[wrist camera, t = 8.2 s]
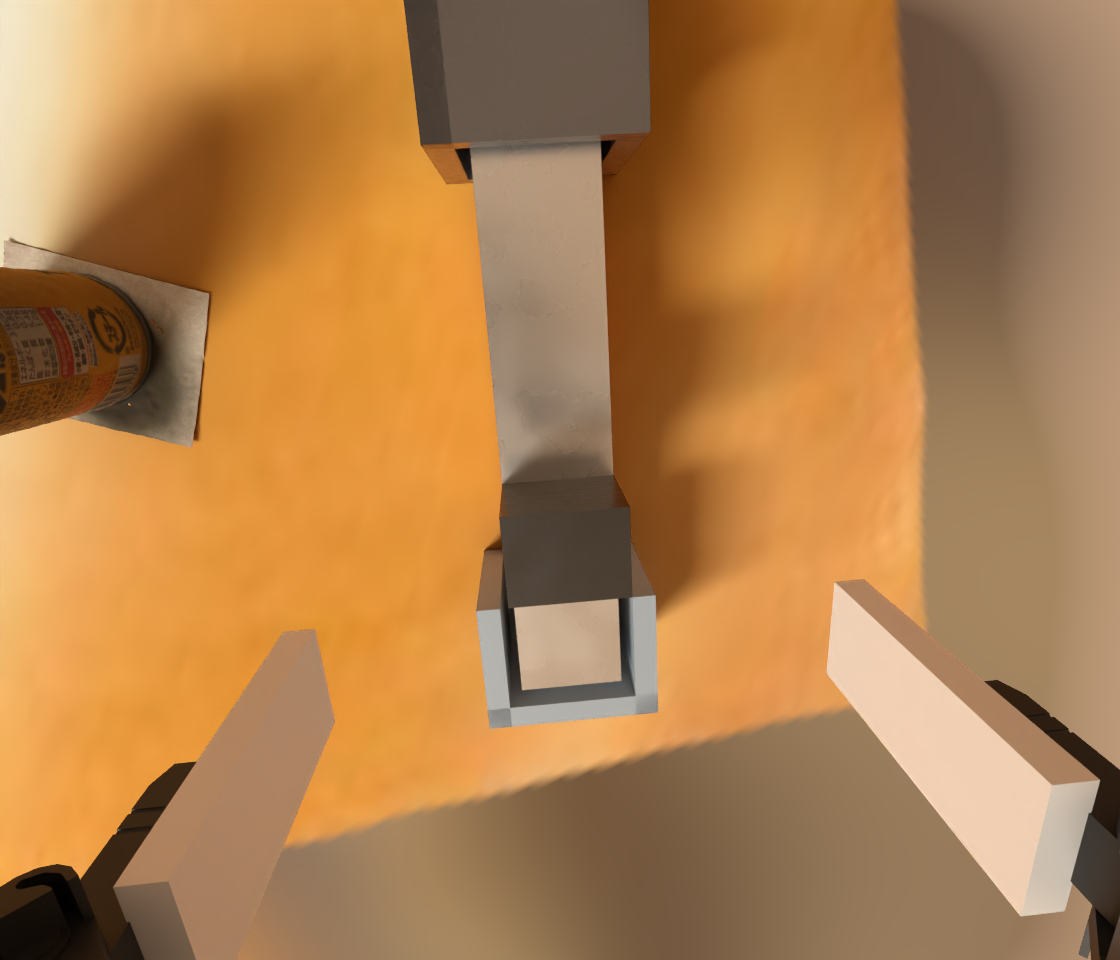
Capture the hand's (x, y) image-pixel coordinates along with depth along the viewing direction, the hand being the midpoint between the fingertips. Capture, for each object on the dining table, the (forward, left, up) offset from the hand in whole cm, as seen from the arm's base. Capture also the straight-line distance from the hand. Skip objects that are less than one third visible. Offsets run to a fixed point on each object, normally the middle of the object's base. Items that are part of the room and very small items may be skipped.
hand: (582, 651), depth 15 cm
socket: (+7, 0, -16) cm, 18 cm away
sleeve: (-18, 0, -16) cm, 24 cm away
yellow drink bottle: (-8, -20, -16) cm, 27 cm away
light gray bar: (-3, 0, -15) cm, 15 cm away
